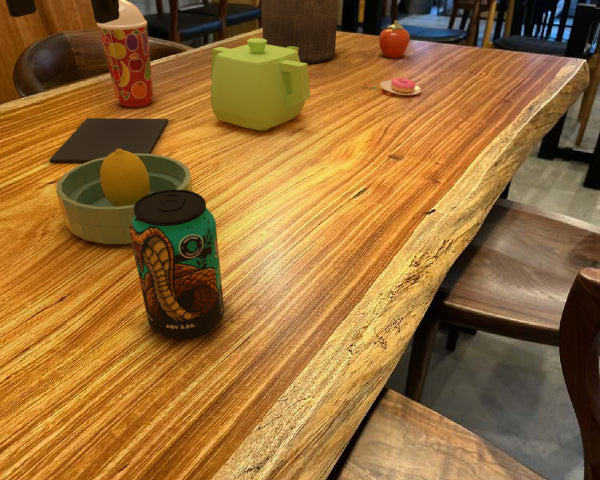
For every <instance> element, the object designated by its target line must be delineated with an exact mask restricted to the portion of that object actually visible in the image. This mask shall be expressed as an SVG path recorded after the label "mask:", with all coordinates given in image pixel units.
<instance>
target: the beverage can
mask: <svg viewBox="0 0 600 480" xmlns="http://www.w3.org/2000/svg"><path fill="white" fill-rule="evenodd" d="M133 209H134V217H133V219H132V221H131V223H130V227H129V231H130V237H131V242H132V243H131V246H132V250H133V256H134V261H135V265H136V271H137V274H138V280H139V284H140V289H141V294H142V298H143V304H144V308H145V309H144V310H145V314H146V317H147V323H148V324H149V326H150V328H151V329H152V330H154V331H155V332H156V333H157V334H160V335H161V336H164V337H166V338H168V339H172V340H178V341H179V340H180V341H181V340H182V341H183V340H184V341H186V340H193V339H196V338H200V337H203V336H205V335H206V334H209V332H211V331H212V330H213V329H214V328H215V327H217V325H219V323H221V321H222V319H223V317H224V313H225V305H224V295H223V285H222V273H221V264H220V263H221V261H220V253H219V243H218V232H217V231H218V230H217V222H216V219H215V216H214V214H213V213H212V212H211V211H210V210H209V208H207V202H206V199H205V197H203V196H202V195H201V194H199V193H197V192H196V191H195V192H194V191H193V192H192V191H187V190H175V189H172V190H163V191H158V192H154V193H151V194H148V195H146V196H144V197H142V198H141V199H140V200H138V201H137V202H136V204H135V205H134V208H133Z"/></svg>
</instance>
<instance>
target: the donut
mask: <svg viewBox="0 0 600 480" xmlns="http://www.w3.org/2000/svg"><path fill="white" fill-rule="evenodd" d="M379 86H380V87H381V88H382V90H385V91H386V92H388V93H391V94H394V95H397V96H405V97H406V96H407V97H408V96H409V97H410V96H415V95H418V94H420V93H421V92H422V89H421V87H420V86H418V85H416V83H415V82H414V80H413V79H410V78H409V79H408V78H406V77H394V78H393V79H389V80H384V81H381V82H380V84H379ZM366 88H370V89H371V88H372V85H369V86H367V85H366ZM373 88H374V89H376V88H377V87H376V86H374V87H373Z"/></svg>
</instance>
